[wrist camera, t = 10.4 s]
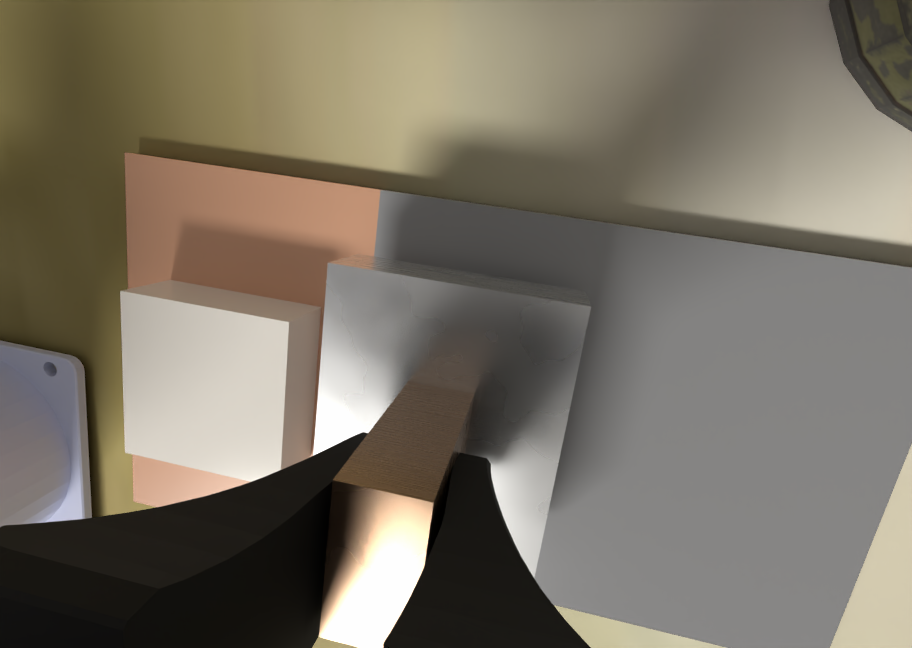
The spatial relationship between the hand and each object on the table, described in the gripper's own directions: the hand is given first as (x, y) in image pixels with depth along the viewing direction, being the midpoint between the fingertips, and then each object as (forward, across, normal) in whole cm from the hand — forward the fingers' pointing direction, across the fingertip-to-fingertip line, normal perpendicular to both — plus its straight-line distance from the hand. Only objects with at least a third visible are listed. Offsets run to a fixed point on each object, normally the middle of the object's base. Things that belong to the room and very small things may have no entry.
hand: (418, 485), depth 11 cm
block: (+4, +7, 0) cm, 8 cm away
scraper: (+3, 0, 0) cm, 3 cm away
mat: (+5, -1, 0) cm, 5 cm away
